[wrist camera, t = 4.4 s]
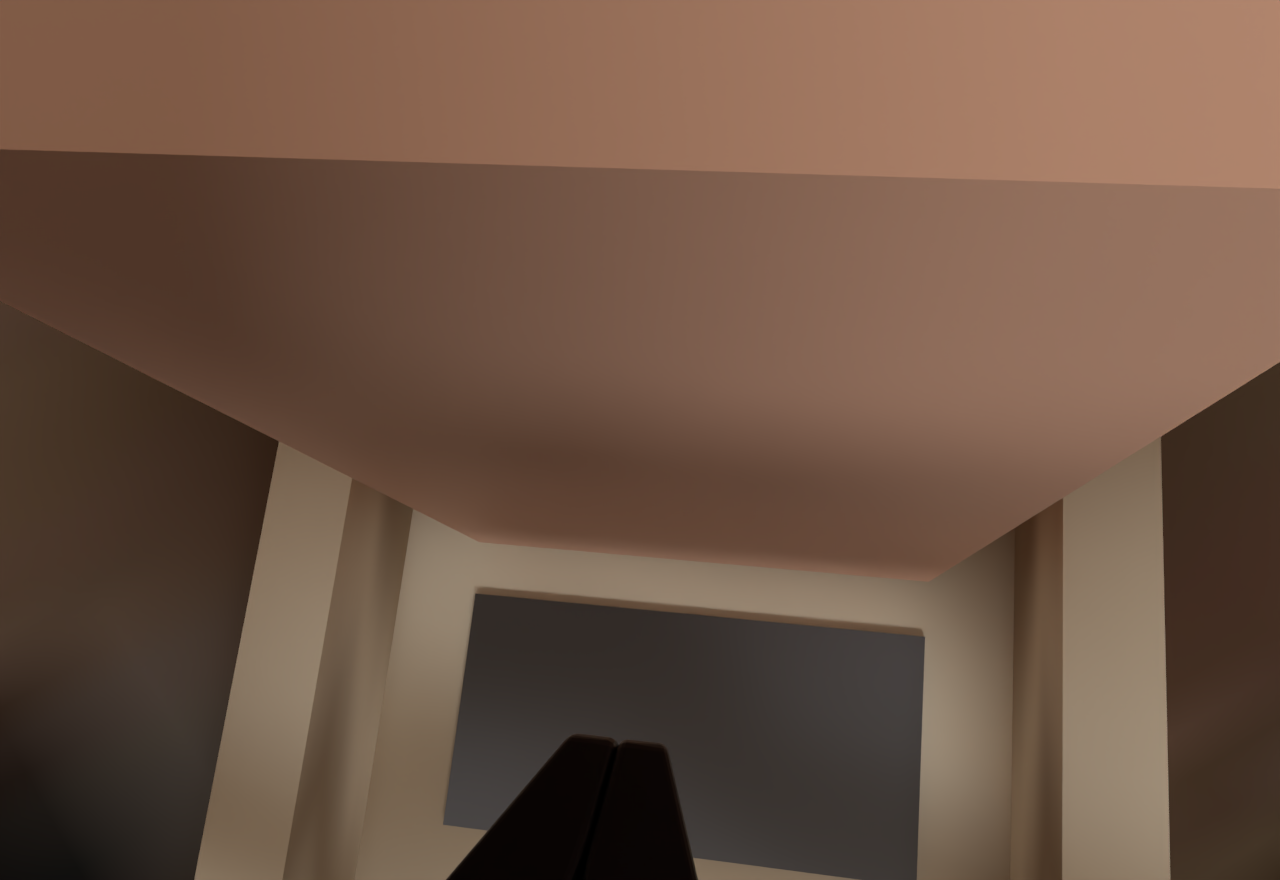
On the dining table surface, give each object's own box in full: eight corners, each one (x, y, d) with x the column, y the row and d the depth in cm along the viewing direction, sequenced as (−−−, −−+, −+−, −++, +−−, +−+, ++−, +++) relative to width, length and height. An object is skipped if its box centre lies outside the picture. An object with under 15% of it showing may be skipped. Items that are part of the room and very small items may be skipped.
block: (928, 581, 15) (1541, 198, 3) (479, 542, 16) (-323, 139, 4) (941, 216, 16) (1398, -995, 4) (527, 201, 17) (28, -820, 5)
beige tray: (1077, 1346, 13) (1185, 1571, 10) (254, 1188, 15) (107, 1333, 12) (1076, -129, 19) (1144, -307, 15) (475, -121, 20) (418, -280, 17)
